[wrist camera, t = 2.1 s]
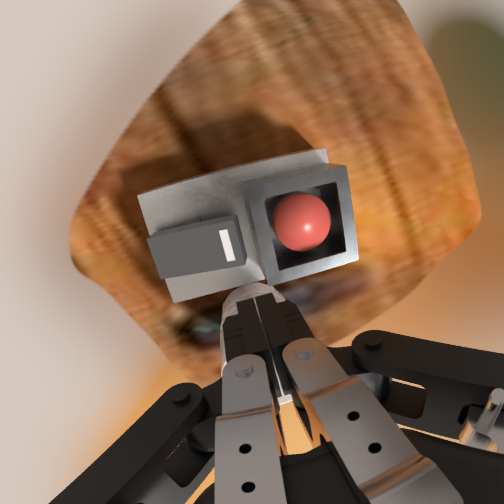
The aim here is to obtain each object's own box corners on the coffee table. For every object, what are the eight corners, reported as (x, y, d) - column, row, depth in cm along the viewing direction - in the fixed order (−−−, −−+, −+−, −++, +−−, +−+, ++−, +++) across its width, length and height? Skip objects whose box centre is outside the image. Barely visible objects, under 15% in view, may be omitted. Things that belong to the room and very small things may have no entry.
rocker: (154, 232, 24) (145, 239, 22) (236, 214, 23) (233, 220, 21) (167, 271, 25) (160, 279, 24) (247, 256, 24) (244, 265, 22)
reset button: (265, 199, 23) (269, 202, 22) (319, 186, 23) (325, 188, 22) (277, 251, 25) (281, 257, 23) (327, 238, 25) (334, 242, 24)
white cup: (203, 292, 30) (204, 354, 21) (278, 265, 30) (310, 316, 21) (231, 351, 33) (242, 417, 23) (298, 326, 33) (329, 386, 23)
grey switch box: (144, 191, 26) (124, 203, 19) (314, 148, 27) (346, 148, 20) (176, 289, 29) (169, 327, 23) (331, 246, 30) (362, 272, 24)
